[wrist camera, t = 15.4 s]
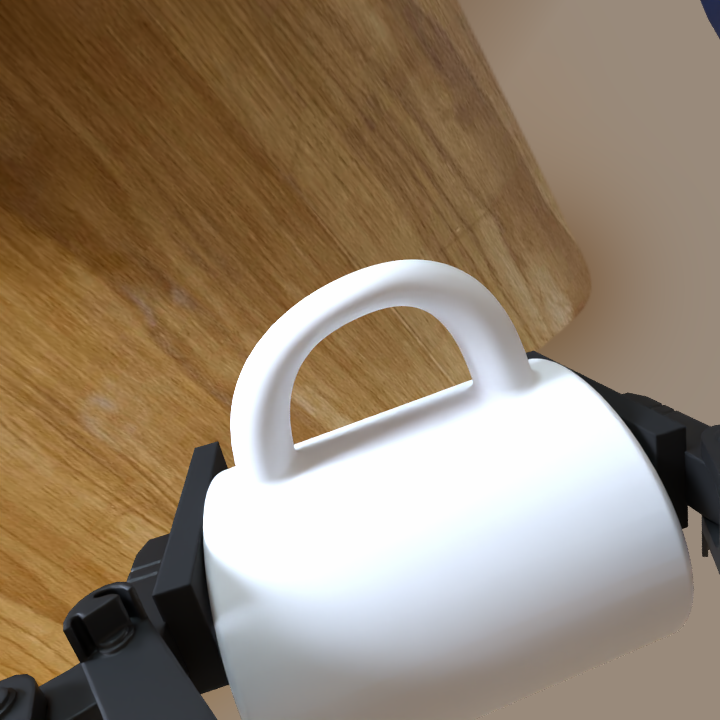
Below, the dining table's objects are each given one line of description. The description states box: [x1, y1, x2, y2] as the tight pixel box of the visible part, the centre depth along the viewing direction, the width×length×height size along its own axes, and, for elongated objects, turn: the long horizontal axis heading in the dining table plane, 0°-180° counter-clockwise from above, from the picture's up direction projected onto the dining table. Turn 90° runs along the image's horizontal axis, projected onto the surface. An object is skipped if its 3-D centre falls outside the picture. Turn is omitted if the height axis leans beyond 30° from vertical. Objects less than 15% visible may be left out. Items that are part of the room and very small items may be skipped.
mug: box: [203, 260, 694, 720], centre depth 13 cm, size 12×10×8 cm
